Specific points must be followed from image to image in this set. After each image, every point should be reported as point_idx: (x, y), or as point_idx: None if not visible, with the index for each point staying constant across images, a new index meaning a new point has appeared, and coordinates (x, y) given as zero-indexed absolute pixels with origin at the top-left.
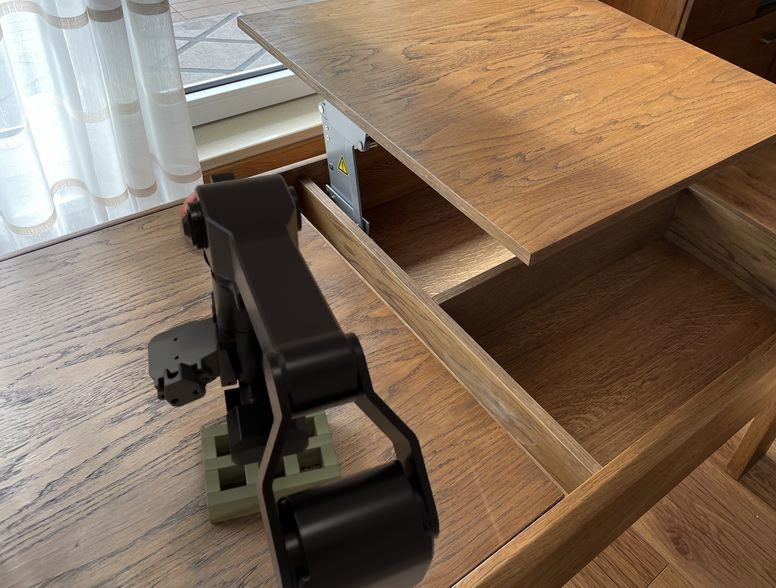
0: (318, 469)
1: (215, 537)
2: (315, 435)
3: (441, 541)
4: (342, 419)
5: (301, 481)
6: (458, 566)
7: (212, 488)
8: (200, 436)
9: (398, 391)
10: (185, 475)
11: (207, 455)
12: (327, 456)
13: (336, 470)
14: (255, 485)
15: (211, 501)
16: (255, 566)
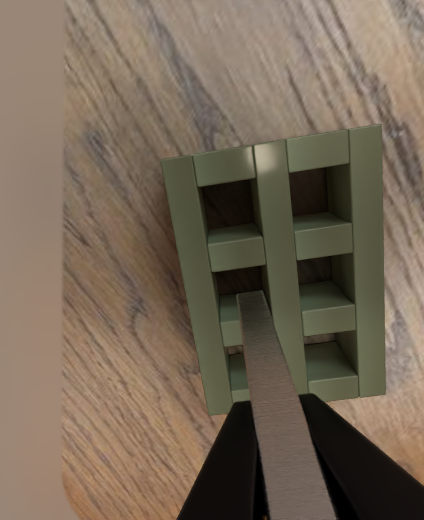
0: (226, 380)
1: (143, 170)
2: (323, 357)
3: (117, 497)
4: None
5: (202, 349)
6: (80, 510)
7: (205, 168)
8: (357, 127)
9: None
10: (286, 97)
11: (297, 149)
12: None
13: (220, 410)
14: (203, 261)
15: (173, 168)
16: (86, 243)
